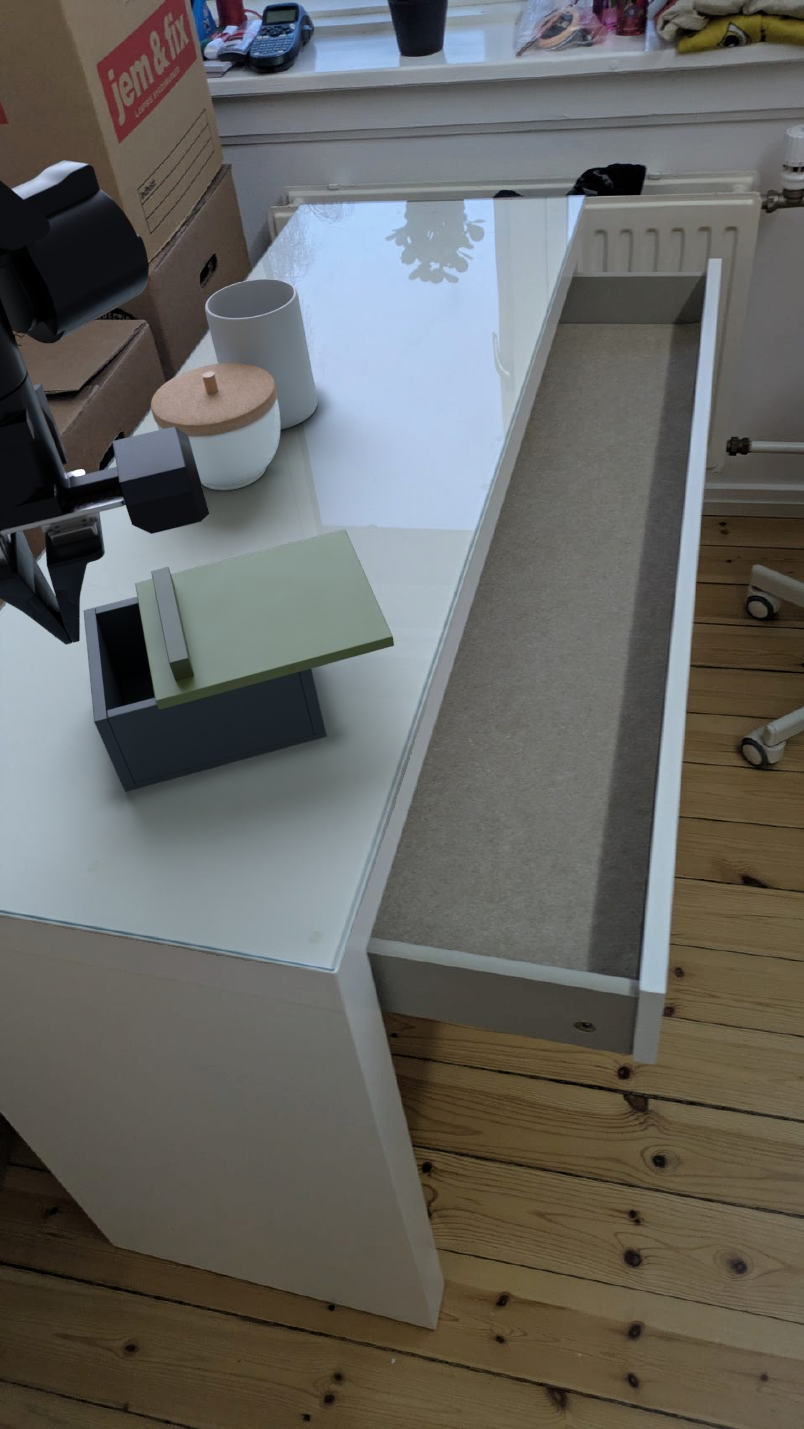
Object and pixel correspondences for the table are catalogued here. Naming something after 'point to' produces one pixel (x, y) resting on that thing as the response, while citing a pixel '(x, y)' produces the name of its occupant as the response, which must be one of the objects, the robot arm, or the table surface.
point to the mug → (266, 340)
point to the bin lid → (257, 618)
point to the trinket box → (223, 420)
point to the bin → (184, 709)
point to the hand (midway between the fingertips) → (72, 638)
